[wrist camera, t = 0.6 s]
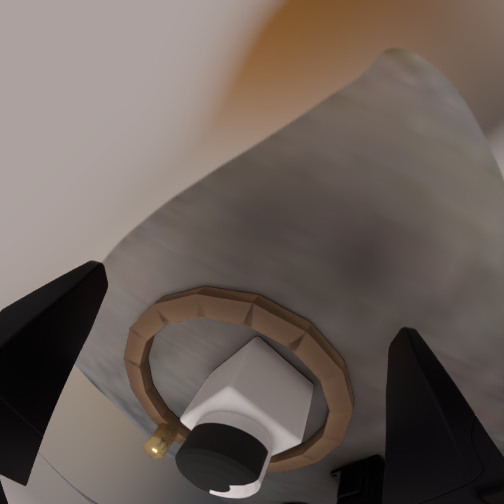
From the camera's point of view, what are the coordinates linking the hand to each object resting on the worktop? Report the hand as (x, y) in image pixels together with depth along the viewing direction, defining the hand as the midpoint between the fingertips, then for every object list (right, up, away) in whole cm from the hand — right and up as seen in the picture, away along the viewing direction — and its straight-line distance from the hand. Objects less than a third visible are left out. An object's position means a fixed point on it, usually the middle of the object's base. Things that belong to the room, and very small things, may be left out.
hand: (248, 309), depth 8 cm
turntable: (-2, -12, +20) cm, 24 cm away
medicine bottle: (+1, -10, +19) cm, 21 cm away
